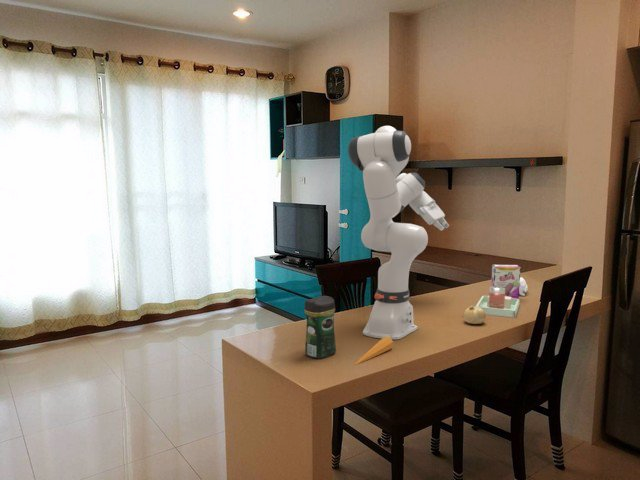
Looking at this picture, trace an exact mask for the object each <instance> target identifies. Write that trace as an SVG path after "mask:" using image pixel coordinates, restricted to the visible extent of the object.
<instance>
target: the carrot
mask: <svg viewBox="0 0 640 480" xmlns="http://www.w3.org/2000/svg"><path fill="white" fill-rule="evenodd" d="M393 346H394V341H393V339H391V338H389V337H383V338H382V339H381V338H380V340H379V341H377V343H375V344H374V345H373V346H372V347H371V348H370V349H369V350H368V351H367V352H366V353H364V354H363V355H362V356H361V357H360V358H359V359H358V361H356V363H354V366H356V365H359V364H361V363H364V362H366V361H368V360H370V359H372V358H375V357H377V356H379V355H382V354H383V353H386V352H388V351H390V350H391V349H392V348H393Z"/></svg>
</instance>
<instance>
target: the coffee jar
mask: <svg viewBox="0 0 640 480" xmlns="http://www.w3.org/2000/svg"><path fill="white" fill-rule="evenodd" d="M335 312H336V304H335V299H334V298H333V297H332V296H328V295H321V296H317V297H313V298H310V299H309V298H308V299H306V300H305V301H304V314H305V317H306V329H305V330H306V331H305V334H306V335H305V345H304V348H305V349H304V351H305V355H306V356H307V357H309V358H312V359H314V358H315V359H323V358H326V357H329V356H331V355H334V354H336V351H337V345H336V344H337V343H336V336H335V323H334V322H335V321H334V320H335V318H334V317H335Z"/></svg>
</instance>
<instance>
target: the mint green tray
mask: <svg viewBox="0 0 640 480" xmlns="http://www.w3.org/2000/svg"><path fill="white" fill-rule="evenodd" d="M488 296H489V295H482V296H481V297H480V299H479V300H478V302H477V303H476V305H474V306H475V307H479V308H481V309H482V310H484V312H485V314H486V315H489V316H497V317H506V318H514V319H515V318H516V316H517V313H518V310H519V308H520V298H519V299H515V298H511V308H510V309H505V308H504V309H498V308H489V307H487V297H488Z"/></svg>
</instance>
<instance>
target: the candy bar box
mask: <svg viewBox="0 0 640 480" xmlns="http://www.w3.org/2000/svg"><path fill="white" fill-rule="evenodd" d="M491 266H492V267H491V282H490V283H491V284H490V286H502V287H505V296H508V297H511V298H515V299H520V294H519V286H520V277H521V271H522V270H521V268H522V267H521V266H519V265H518V264H492V265H491Z"/></svg>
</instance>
